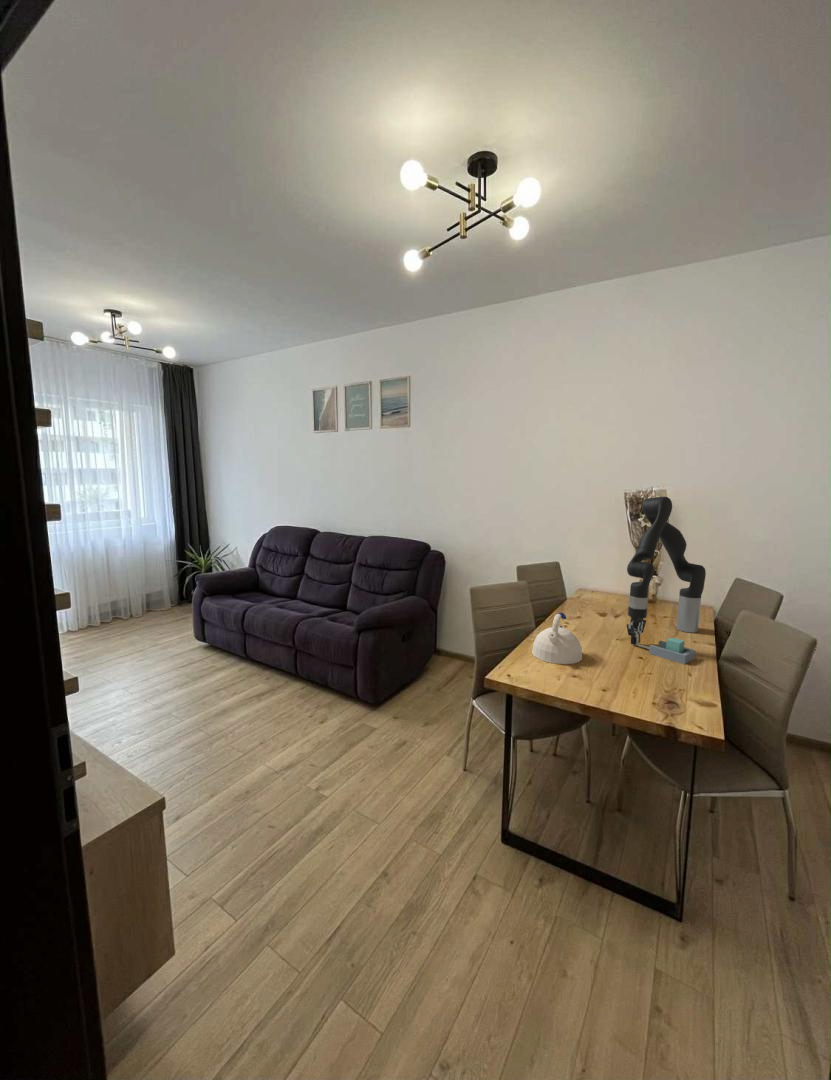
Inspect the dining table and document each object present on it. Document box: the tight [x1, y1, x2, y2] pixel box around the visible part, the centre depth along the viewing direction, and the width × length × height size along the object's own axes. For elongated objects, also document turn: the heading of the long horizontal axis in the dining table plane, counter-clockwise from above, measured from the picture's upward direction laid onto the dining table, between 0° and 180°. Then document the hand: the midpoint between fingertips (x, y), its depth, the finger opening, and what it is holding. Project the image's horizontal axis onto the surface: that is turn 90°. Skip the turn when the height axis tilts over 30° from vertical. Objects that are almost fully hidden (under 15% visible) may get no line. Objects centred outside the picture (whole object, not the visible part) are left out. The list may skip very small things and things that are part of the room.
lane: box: [648, 640, 696, 665], centre depth 188 cm, size 10×14×4 cm
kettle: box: [531, 612, 583, 665], centre depth 187 cm, size 20×21×18 cm
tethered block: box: [631, 634, 686, 654], centre depth 193 cm, size 5×20×7 cm, turn 38°
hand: (635, 643), depth 200 cm, fingers closed on tethered block, 2 cm apart
